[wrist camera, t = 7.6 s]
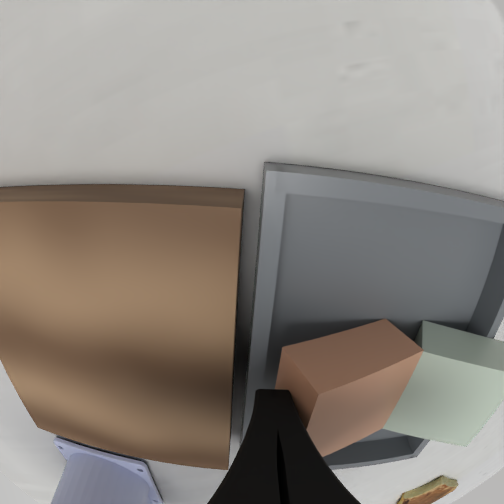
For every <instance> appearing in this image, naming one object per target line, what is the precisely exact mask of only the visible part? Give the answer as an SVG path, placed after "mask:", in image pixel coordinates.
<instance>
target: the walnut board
mask: <svg viewBox="0 0 504 504" xmlns="http://www.w3.org/2000/svg"><path fill="white" fill-rule="evenodd" d="M244 191H245V189H232V188H214V187H194V186H169V185H124V184H80V185H37V186H14V187H0V360H1V362H2V364H3V366H4V368H5V370H6V372H7V374H8V376H9V378H10V380H11V382H12V384H13V386H14V388H15V390H16V391H17V393H18V395H19V397H20V399H21V400H22V402H23V404H24V406H25V407H26V409H27V411H28V412H29V414H30V416H31V417H32V419H33V421H34V422H35V424H36V425H37V427H38V428H41V429H43V430H46V431H49V432H51V433H54V434H57V435H60V436H62V437H65V438H68V439H71V440H74V441H78V442H81V443H84V444H87V445H91V446H94V447H98V448H101V449H105V450H109V451H113V452H117V453H121V454H125V455H129V456H134V457H139V458H143V459H149V460H154V461H159V462H165V463H171V464H178V465H185V466H192V467H201V468H210V469H221V470H228V465H229V451H230V437H231V416H232V395H233V375H234V356H235V338H236V320H237V302H238V285H239V269H240V252H241V236H242V221H243V206H244Z"/></svg>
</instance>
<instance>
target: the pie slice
mask: <svg viewBox="0 0 504 504" xmlns="http://www.w3.org/2000/svg"><path fill="white" fill-rule="evenodd" d="M457 486H458V483H457V480H452V479H447V478H446V477H444V476H441V477H440V478H438V479H436V480H434V481H433V482H430V483H428V484H426V485H423V486H421V487H419V488H416V489H413V490H410V491H407V492H405V493H403V494H402V497H401V499H400V501H399V502H398V503H397V504H431V503H433V502H435V501H437V500H438V499H440V498H442V497H444V496H445V495H447V494H448V493H450V492H452V491H453V490H455V489H456V487H457Z"/></svg>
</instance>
